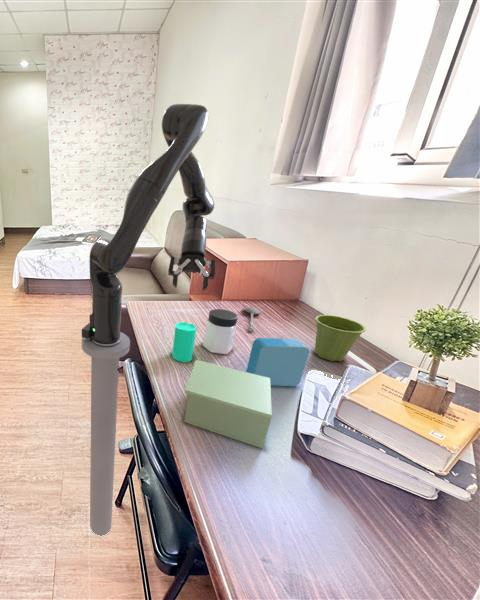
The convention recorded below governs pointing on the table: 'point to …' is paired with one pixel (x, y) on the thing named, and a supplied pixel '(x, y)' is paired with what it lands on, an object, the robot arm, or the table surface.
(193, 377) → the chest lid
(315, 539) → the table surface
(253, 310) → the soupspoon
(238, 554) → the table surface
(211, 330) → the jar
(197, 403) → the chest
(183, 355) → the candle
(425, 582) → the table surface
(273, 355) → the data package
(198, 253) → the robot arm
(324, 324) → the plant pot
